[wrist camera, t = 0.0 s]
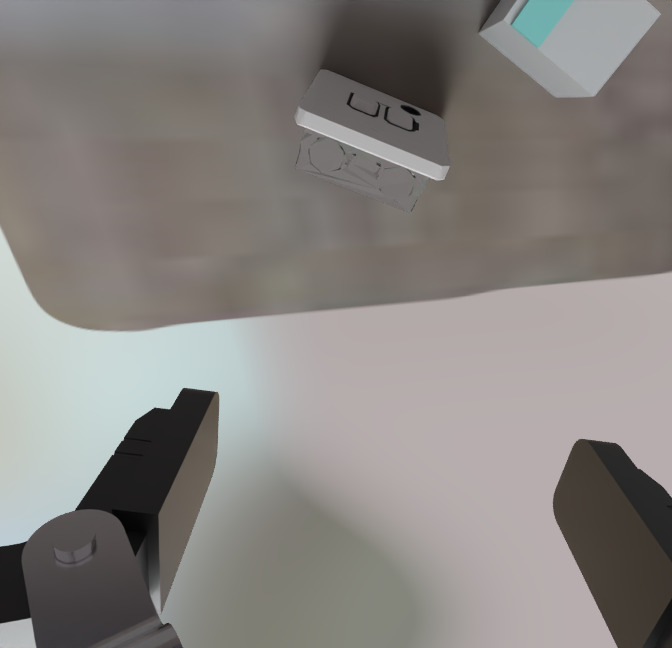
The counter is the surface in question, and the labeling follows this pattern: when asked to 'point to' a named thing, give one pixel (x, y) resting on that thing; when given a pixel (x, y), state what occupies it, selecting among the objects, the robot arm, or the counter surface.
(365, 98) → the electrical switch
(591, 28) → the block
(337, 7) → the counter surface
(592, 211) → the counter surface
